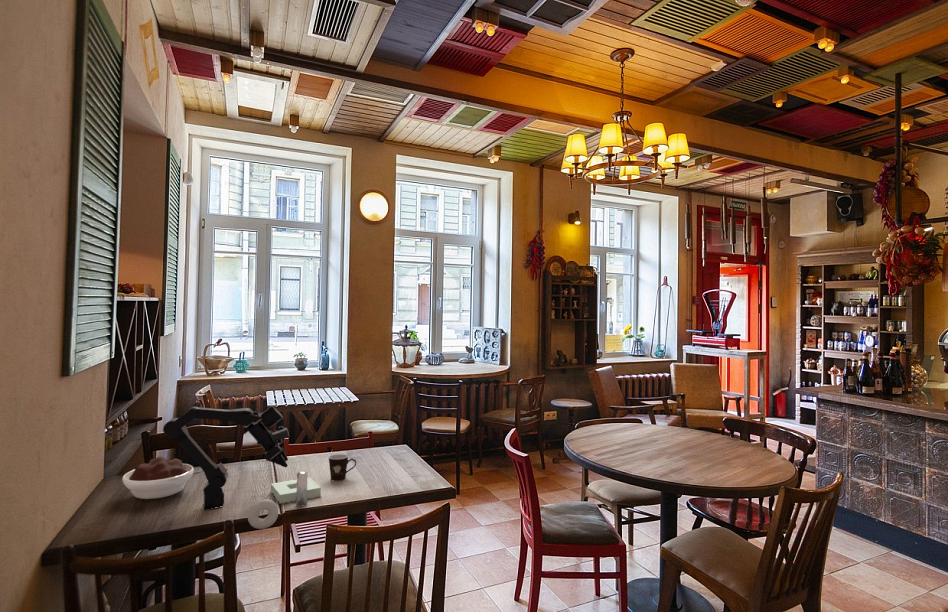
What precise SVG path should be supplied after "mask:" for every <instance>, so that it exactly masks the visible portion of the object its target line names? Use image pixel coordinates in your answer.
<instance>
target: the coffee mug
mask: <svg viewBox="0 0 948 612" xmlns="http://www.w3.org/2000/svg"><path fill="white" fill-rule="evenodd" d="M351 461H353V462H354V465H353V466H352V467H350V468H349V469H347V468H348V464H349V462H351ZM328 464H329V475H330V480H331V481H332V480H334V481H333V482H341V481H344V480H346V476H347V473H348V472H349V471H352V470H353V469H354V468H355V467H356V466H357V460H356V459H354V458H350V459H349V456H348V454H344V453H343V454H342V453H340V454H339V453H336V454H331V455H329V456H328ZM340 480H341V481H340Z"/></svg>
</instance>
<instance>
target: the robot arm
mask: <svg viewBox="0 0 948 612" xmlns="http://www.w3.org/2000/svg"><path fill="white" fill-rule="evenodd" d="M194 419H200V420H201V419H204V420H214V421H217V420H218V421H226V422H227V421H228V422H231V423H233V424H237V425H241V426H242V427H243V428H242V435H246V434H247V433H249V434H250V435H251V436H252V437H253V439H254V440H255V441H256V444H258V446H259V445H260V446H261V448H262V449H263V452H264V459H265V460H266V461H267V462H271V463H273V464H276V465H278V466H281V467H283V468H287V467H288V464H287V462H288V460H289V458H288V456H287V454H286V452H285V451H284V447H283V444H284V443H283V442H284V441H283V440H284V439H288V438H290V433H289V430H288V428H287V427H284V426H283V425H281V426H278V429H277V430H275V431H274V432H273V431H272V430H269V429H268V428H269V427H271V428H272V427H273V426H275V425H276V424H277V423H278V422H280V421H281V420H282V419H284V416H283V415H282V413H281V412H280V411H279V410H278V409H276V407H275V406H273V405H270V406H268V408H267V409H266V410H265V411H263V412H258V411H254V410H252V409H251V408H249V407H243V408H242V407H240V408H235V409H222V408H212V407H211V408H210V407H209V408H208V407H199V406H192V407H190V408H189V409H188V410H187V411H185V412H184V413H183V414H181V415H180V416H179V417H173V418H171V419H170V420H168V421H167V422H166V423H165V424H164V426H163V429H162V431H163V433H164V434H165V436H167V437H168V438H169V439H170V440H172V441H174V442H175V443H178V444H179V445H180V446H181V447H182V448H183V449H184V450H185V452H186V453H187V454H188V455H189V456H190V458H192V460H193V461H194V462H195V463H196V464H197V465H198V466H199V468H200V469H201V470H202V471H203V472H204V475H205V478H206V480H207V482H206V484H205V485H204V487H203V489H202V491H203V504H202V508H203V507H204V508H203V510H204V511H207V510H206V509H209V510H212V509H211V508H215V507H220V506H223V507H224V504H225V492H224V491H223V488H222V487H224V486H225V484H226V483H227V480H228V478H229V472H228V469H227V467H225V466H224V464H223V463H222V462H220V463H216V462H214V461H213V460H212V458H210V456H208V454H206V453H205V451H204V450H203V449H202V448H201V446H199V444H198V443H197V442H196V440H195V439H193V437H192V436H191V435H190V432H189V430H188V427H187V426H186V425H187V424H189V423H190V422H192V420H194ZM220 508H221V507H220ZM215 509H216V508H215Z"/></svg>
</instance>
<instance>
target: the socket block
mask: <svg viewBox="0 0 948 612" xmlns="http://www.w3.org/2000/svg"><path fill="white" fill-rule="evenodd" d="M321 489H322V488H321V486H320V485H319V484H317V483H316V482H315V481H314V480H313V479H312V478H311V477H308V476H307V498H309V499H313V498H317V497H321V496H322V495H321V494H322V493H321ZM296 491H297V478H296V479H291V480H285V481H280V482H275V483H271V485H270V492H272V493H273V494H274V495H273V494H272V493H271V494H272V495H273V497H274V496H275V497H276V498H277V499H276V498H275V497H274V498H275V499H276V500H277V502H278V501H279V502H278V504H280V505H281V503H282V504H286V503H285V502H287V503H290V502H289V501H293V502H296V501H295V500H296Z"/></svg>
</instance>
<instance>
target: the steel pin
mask: <svg viewBox="0 0 948 612" xmlns="http://www.w3.org/2000/svg"><path fill="white" fill-rule="evenodd" d="M307 478H308V471H307V470H300V471H297V472H296V479H297V491H296V501H295V502H296V503H295V505H296V506H297V505H299V506H298V507H303V506H302V505H305V506H306V504H308V499H307Z"/></svg>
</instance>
